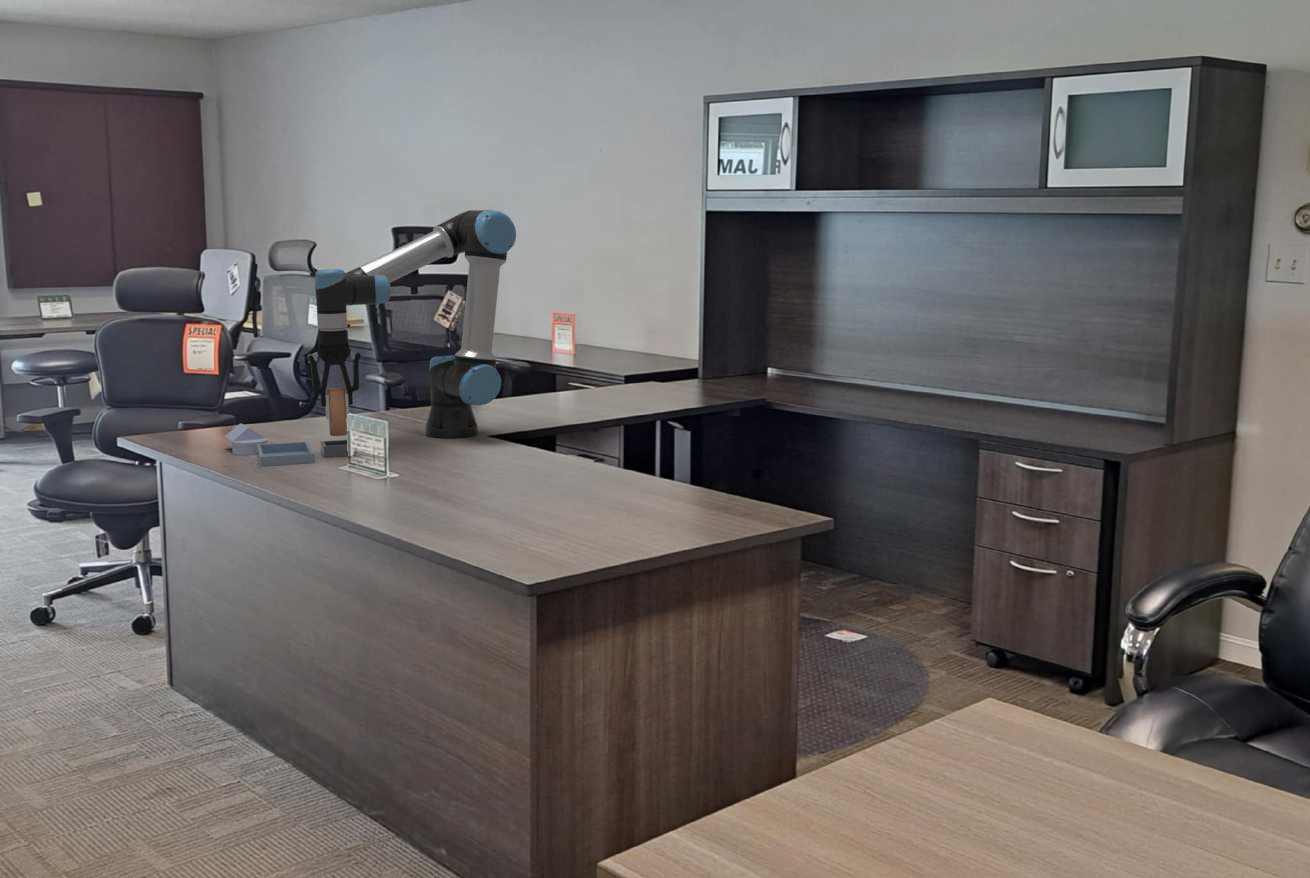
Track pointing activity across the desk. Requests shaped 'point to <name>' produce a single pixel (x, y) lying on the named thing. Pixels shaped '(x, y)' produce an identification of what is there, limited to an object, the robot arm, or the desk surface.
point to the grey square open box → (334, 448)
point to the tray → (284, 454)
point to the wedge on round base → (245, 440)
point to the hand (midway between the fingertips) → (337, 417)
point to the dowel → (337, 412)
